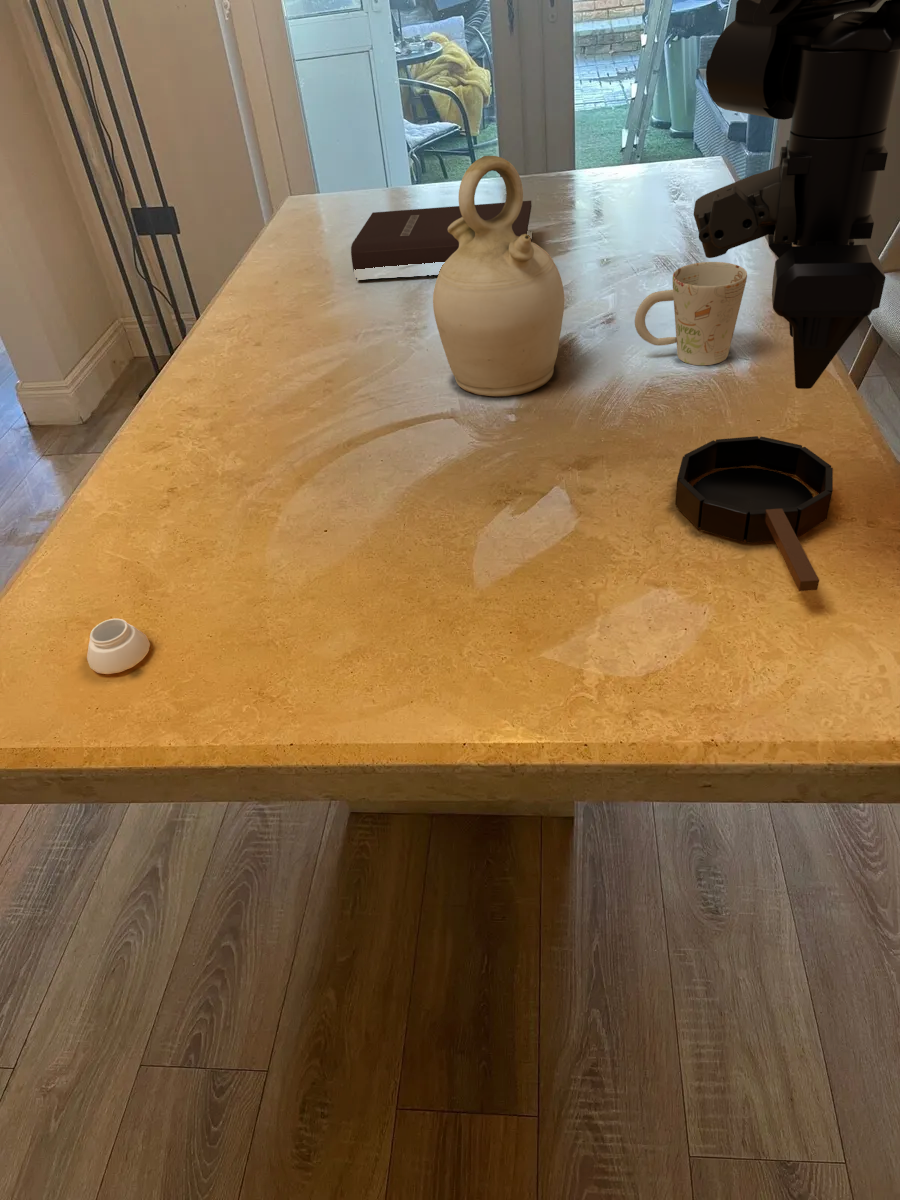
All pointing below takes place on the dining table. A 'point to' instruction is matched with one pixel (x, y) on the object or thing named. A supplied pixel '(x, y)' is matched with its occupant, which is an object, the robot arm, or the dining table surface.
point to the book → (418, 235)
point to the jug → (497, 296)
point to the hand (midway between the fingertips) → (800, 360)
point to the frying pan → (758, 495)
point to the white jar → (116, 646)
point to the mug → (700, 311)
